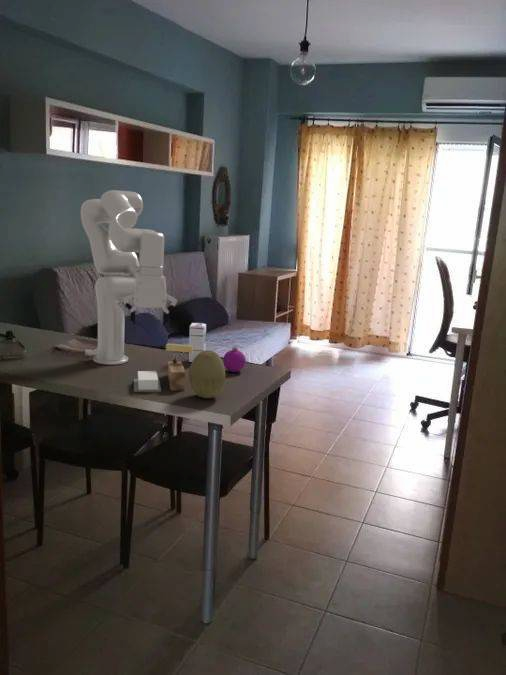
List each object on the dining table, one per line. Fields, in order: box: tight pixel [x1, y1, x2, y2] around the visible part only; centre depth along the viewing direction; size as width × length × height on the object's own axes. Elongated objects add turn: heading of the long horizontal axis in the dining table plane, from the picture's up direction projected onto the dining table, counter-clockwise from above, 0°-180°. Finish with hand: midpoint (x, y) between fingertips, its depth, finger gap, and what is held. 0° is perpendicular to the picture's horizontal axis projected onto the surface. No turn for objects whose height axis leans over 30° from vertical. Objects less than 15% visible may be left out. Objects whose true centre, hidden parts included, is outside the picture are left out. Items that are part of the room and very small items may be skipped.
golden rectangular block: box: [165, 342, 193, 363], centre depth 201 cm, size 2×9×6 cm, turn 82°
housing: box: [167, 360, 186, 391], centre depth 197 cm, size 4×18×6 cm, turn 11°
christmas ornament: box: [222, 346, 246, 373], centre depth 214 cm, size 8×8×10 cm
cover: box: [137, 370, 159, 390], centre depth 191 cm, size 6×10×3 cm, turn 12°
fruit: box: [188, 349, 226, 399], centre depth 183 cm, size 11×11×15 cm
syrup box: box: [188, 322, 207, 363], centre depth 225 cm, size 6×6×14 cm
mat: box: [133, 378, 162, 393], centre depth 192 cm, size 8×12×1 cm
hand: (149, 324), depth 191 cm, fingers open, 9 cm apart
